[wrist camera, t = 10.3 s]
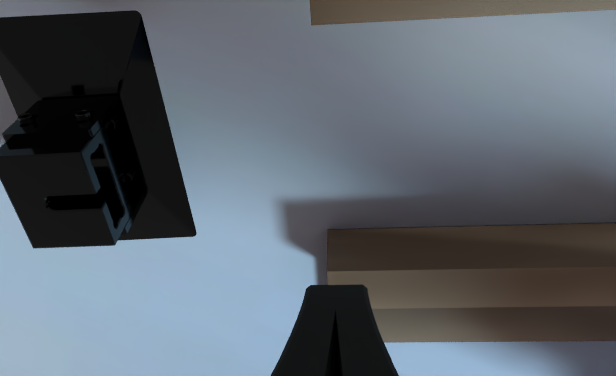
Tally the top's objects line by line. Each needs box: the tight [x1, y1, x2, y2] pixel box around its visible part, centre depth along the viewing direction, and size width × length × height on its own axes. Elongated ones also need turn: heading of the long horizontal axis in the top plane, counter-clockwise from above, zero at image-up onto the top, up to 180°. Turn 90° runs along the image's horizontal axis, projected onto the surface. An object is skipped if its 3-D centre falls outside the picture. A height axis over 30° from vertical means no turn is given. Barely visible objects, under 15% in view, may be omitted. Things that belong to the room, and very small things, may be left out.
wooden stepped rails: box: [310, 0, 616, 342], centre depth 18 cm, size 21×16×2 cm
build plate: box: [0, 11, 196, 248], centre depth 19 cm, size 12×7×5 cm, turn 5°
